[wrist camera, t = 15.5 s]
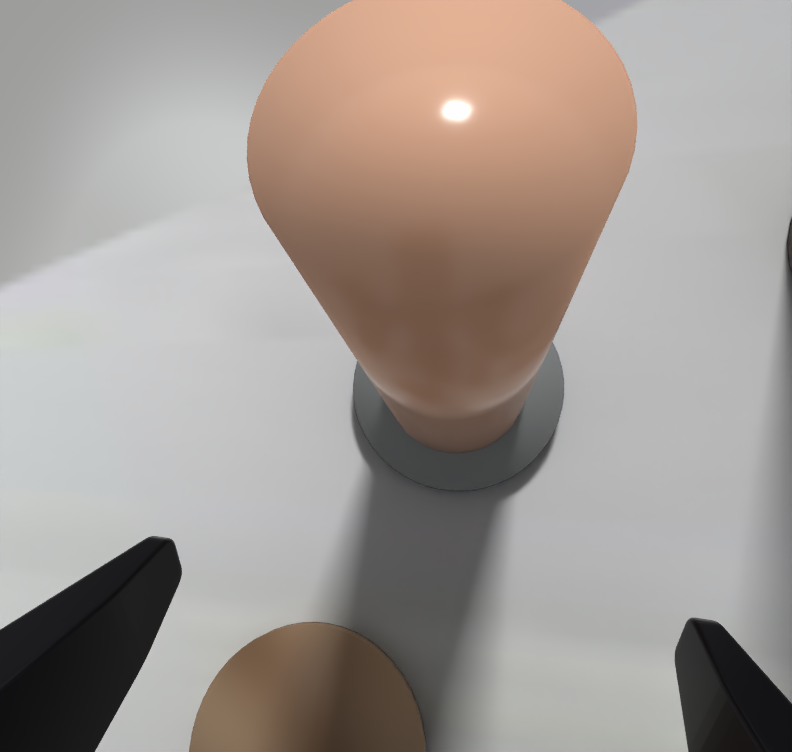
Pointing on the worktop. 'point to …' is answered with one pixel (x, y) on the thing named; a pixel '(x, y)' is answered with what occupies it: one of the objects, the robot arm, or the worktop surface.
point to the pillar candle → (790, 244)
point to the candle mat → (470, 466)
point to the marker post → (444, 192)
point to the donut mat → (309, 697)
